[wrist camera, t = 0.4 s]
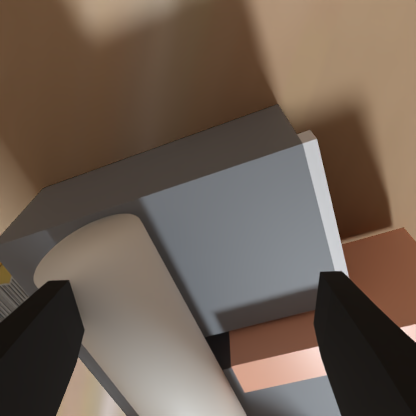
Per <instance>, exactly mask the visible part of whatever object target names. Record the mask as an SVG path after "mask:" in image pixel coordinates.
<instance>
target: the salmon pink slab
mask: <svg viewBox="0 0 416 416" xmlns="http://www.w3.org/2000/svg"><path fill="white" fill-rule="evenodd" d="M342 249H343V254H344V258H345V262H346V266H347V271H348V275H349V278H350V279H351V280H352V282H353V283H354V284H355V285H356V286H357V287H358V288H359V289H360V290H361V291H362V292H363V293H364V294H365V295H366V296H367V297H368V298H369V299H370V300H371V301H372V302H373V303H374V304H375V305H376V306H377V307H378V308H379V309H380V310H381V311H382V312H384V313H385V314H386V315H387V316H388V317H389V318H390V319H391V320H392V321H393V322H394V323H395V324H396V325H397V326H398V327H399V328H401V329H402V330H403V331H404V332H405V333H406V334H407V335H408V336H409V337H410V338H412V339H413V340H414V341H415V342H416V242H415V240H414V239H413V238H412V237H411V236H410V235H409V233H408V232H407V231H406V230H405V229H404V227H403V228H400V229H396V230H393V231H389V232H385V233H382V234H378V235H375V236H371V237H367V238H364V239H360V240H357V241H353V242H349V243H346V244H342ZM314 315H315V310H312V311H308V312H304V313H300V314H296V315H292V316H288V317H284V318H280V319H276V320H272V321H268V322H264V323H260V324H256V325H252V326H248V327H244V328H240V329H236V330H232V331H229V336H230V356H231V367H232V369H233V371H234V373H235V375H236V377H237V379H238V381H239V383H240V385H241V387H242V389H243V390H244V392H245V393H246V392H251V391H255V390H260V389H265V388H269V387H274V386H279V385H283V384H288V383H293V382H297V381H302V380H307V379H311V378H316V377H321V376H325V375H327V374H326V371H325V368H324V365H323V362H322V359H321V355H320V351H319V347H318V343H317V338H316V333H315V329H314V324H313V323H314Z"/></svg>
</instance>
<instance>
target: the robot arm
mask: <svg viewBox="0 0 416 416" xmlns="http://www.w3.org/2000/svg"><path fill="white" fill-rule="evenodd" d="M313 324H314V329H315V333H316V338H317V343H318V347H319V351H320V355H321V359H322V362H323V365H324V368H325V371H326V374H327V377H328V379H329V382H330V385H331V388H332V391H333V394H334V397H335V399H336V402H337V405H338V408H339V411H340V414H341V416H416V342H415V341H414V340H413V339H412V338H410V337H409V336H408V335H407V334H406V333H405V332H404V331H403V330H402V329H401V328H399V327H398V326H397V325H396V324H395V323H394V322H393V321H392V320H391V319H390V318H389V317H388V316H387V315H386V314H385V313H384V312H382V311H381V310H380V309H379V308H378V307H377V306H376V305H375V304H374V303H373V302H372V301H371V300H370V299H369V298H368V297H367V296H366V295H365V294H364V293H363V292H362V291H361V290H360V289H359V288H358V287H357V286H356V285H355V284H354V283H353V282H352V280H351V279H350V278H349V277H348V276H346V275H345V274H344V273H343V272H342V271H325V272H320V275H319V283H318V291H317V299H316V307H315V315H314V323H313ZM84 331H85V329H84V326H83V323H82V320H81V316H80V313H79V310H78V307H77V304H76V300H75V297H74V294H73V291H72V287H71V284H70V281H69V280H52V281H48V282H46V283H45V284H44V285H43V286H41V287H40V288H39V289H38V290H37V291H36V292H34V293H33V294H32V295H31V296H30V297H29V298H28V299H26V300H25V301H24V302H23V303H22V304H21V305H20V306H19V307H17V308H16V309H15V310H14V311H13V312H12V313H11V314H10V315H8V316H7V317H6V318H5V319H4V320H3V321H1V322H0V416H56V414H57V412H58V409H59V407H60V404H61V401H62V399H63V396H64V394H65V391H66V389H67V386H68V384H69V381H70V379H71V376H72V373H73V371H74V368H75V365H76V362H77V359H78V355H79V351H80V347H81V343H82V339H83V335H84Z"/></svg>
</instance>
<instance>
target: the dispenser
mask: <svg viewBox="0 0 416 416" xmlns="http://www.w3.org/2000/svg"><path fill="white" fill-rule="evenodd" d="M0 262H1V263H2V265H3V266H4V267H5V268H6V269H7V271H8V272H9V273H10V274H11V275H12V277H13V278H14V279H15V280H16V282H17V283H18V284H19V285H20V286H21V288H22V289H23V290H24V291H25V293H26V294H27V295H28V296H29V297H30V296H31V295H32V294H33V293H34V292H36V291H37V290H38V289H39V288H40V287H41V286H43V285H44V284H45V283H46V282H48V281H52V280H69V281H70V284H71V287H72V291H73V294H74V297H75V300H76V304H77V307H78V310H79V313H80V316H81V320H82V323H83V326H84V329H85V331H84V335H83V339H82V343H81V347H80V351H79V355H78V357H79V358H80V359H81V361H82V362H83V363H84V364H85V366H86V367H87V368H88V369H89V370H90V372H91V373H92V374H93V375H94V376H95V378H96V379H97V380H98V381H99V383H100V384H101V385H102V386H103V387H104V389H105V390H106V391H107V392H108V394H109V395H110V396H111V397H112V398H113V400H114V401H115V402H116V403H117V404H118V406H119V407H120V408H121V409H122V411H123V412H124V413H125V414H126V415H127V416H341V414H340V411H339V408H338V405H337V402H336V399H335V397H334V394H333V391H332V388H331V385H330V382H329V379H328V377H327V375H325V376H321V377H316V378H311V379H307V380H302V381H297V382H293V383H288V384H283V385H279V386H274V387H269V388H265V389H260V390H255V391H251V392H246V393H245V392H244V390H243V389H242V387H241V385H240V383H239V381H238V379H237V377H236V375H235V373H234V371H233V369H232V367H231V356H230V336H229V331H232V330H236V329H240V328H244V327H248V326H252V325H256V324H260V323H264V322H268V321H272V320H276V319H280V318H284V317H288V316H292V315H296V314H300V313H304V312H308V311H312V310H315V307H316V299H317V291H318V283H319V275H320V272H325V271H342V272H343V273H344V274H345V275H346V276H348V277H349V275H348V271H347V266H346V262H345V258H344V254H343V249H342V245H341V241H340V236H339V232H338V228H337V223H336V219H335V215H334V210H333V206H332V202H331V197H330V193H329V189H328V185H327V180H326V176H325V172H324V167H323V163H322V159H321V154H320V150H319V146H318V141H317V138H316V137H315V136H314V134H313V133H312V132H311V130H308V131H305V132H302V133H299V134H296V132H295V130H294V129H293V127H292V126H291V124H290V122H289V121H288V119H287V118H286V116H285V115H284V113H283V111H282V110H281V108H280V107H279V105H278V104H277V105H274V106H271V107H269V108H266V109H263V110H260V111H257V112H255V113H252V114H249V115H246V116H244V117H241V118H238V119H235V120H232V121H230V122H227V123H224V124H221V125H218V126H216V127H213V128H210V129H207V130H205V131H202V132H199V133H196V134H193V135H191V136H188V137H185V138H182V139H179V140H177V141H174V142H171V143H168V144H166V145H163V146H160V147H157V148H154V149H152V150H149V151H146V152H143V153H140V154H138V155H135V156H132V157H129V158H127V159H124V160H121V161H118V162H115V163H113V164H110V165H107V166H104V167H101V168H99V169H96V170H93V171H90V172H88V173H85V174H82V175H79V176H76V177H74V178H71V179H68V180H65V181H62V182H60V183H57V184H54V185H51V186H49V187H46V188H43V189H42V190H41V191H40V192H39V193H38V195H37V196H36V197H35V198H34V199H33V200H32V201H31V202H30V203H29V205H28V206H27V207H26V208H25V209H24V210H23V211H22V212H21V213H20V215H19V216H18V217H17V218H16V219H15V220H14V221H13V222H12V224H11V225H10V226H9V227H8V228H7V229H6V230H5V231H4V232H3V234H2V235H1V236H0Z"/></svg>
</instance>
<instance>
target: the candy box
mask: <svg viewBox="0 0 416 416" xmlns="http://www.w3.org/2000/svg"><path fill="white" fill-rule="evenodd" d="M28 298H29V296H28V295H27V294H26V293H25V291H24V290H23V289H22V288H21V286H20V285H19V284H18V283H17V282H16V280H15V279H14V278H13V277H12V275H11V274H10V273H9V272H8V271H7V269H6V268H5V267H4V266H3V265H2V263H1V262H0V322H1V321H3V320H4V319H5V318H6V317H7V316H8V315H10V314H11V313H12V312H13V311H14V310H15V309H16V308H17V307H19V306H20V305H21V304H22V303H23V302H24V301H25V300H26V299H28Z"/></svg>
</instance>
